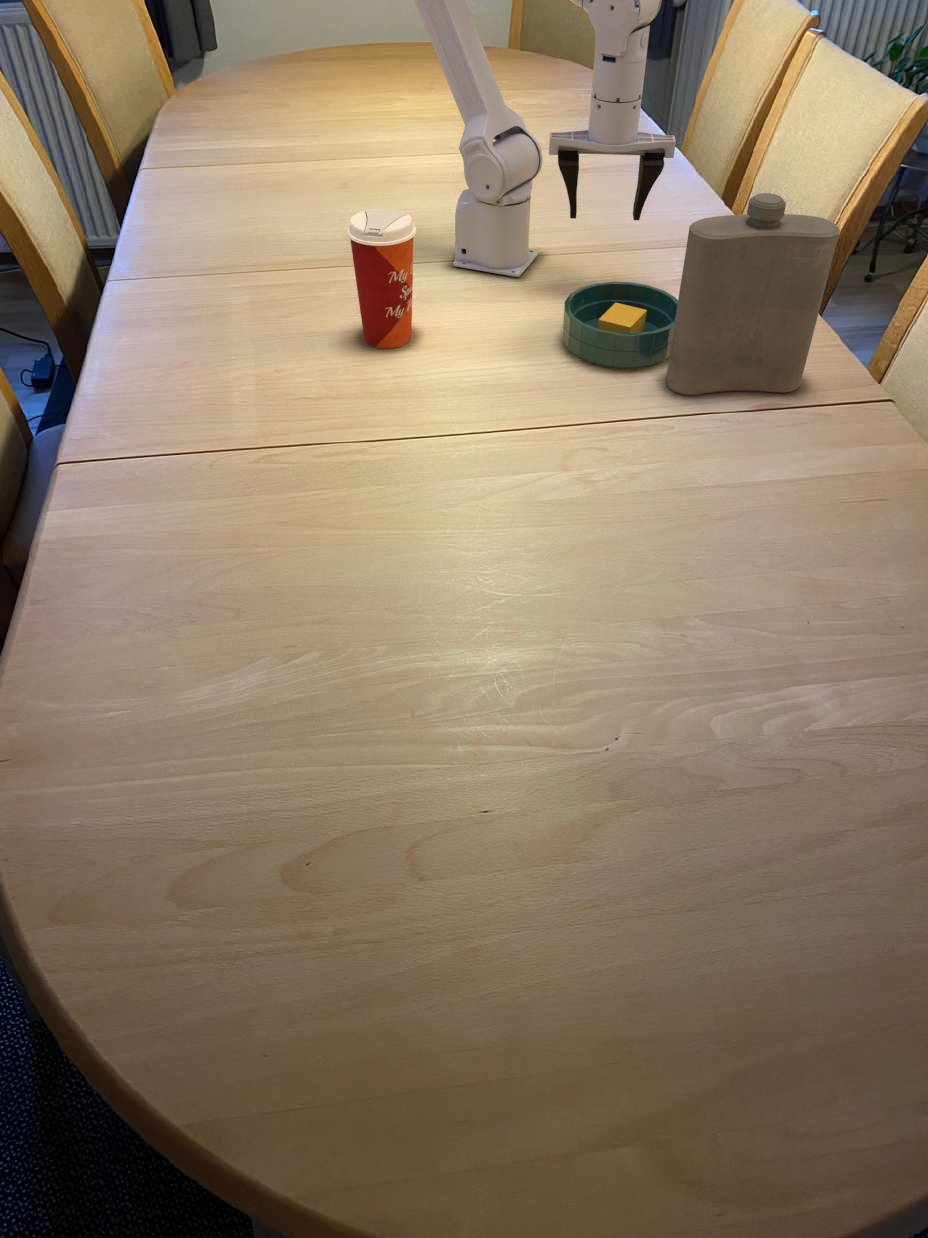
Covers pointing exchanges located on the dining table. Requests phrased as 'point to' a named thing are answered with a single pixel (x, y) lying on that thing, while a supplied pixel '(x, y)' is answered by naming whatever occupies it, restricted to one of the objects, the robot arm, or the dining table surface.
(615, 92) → the robot arm
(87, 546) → the dining table surface
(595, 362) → the bowl
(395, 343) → the paper cup
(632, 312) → the yellow block
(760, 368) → the flask
